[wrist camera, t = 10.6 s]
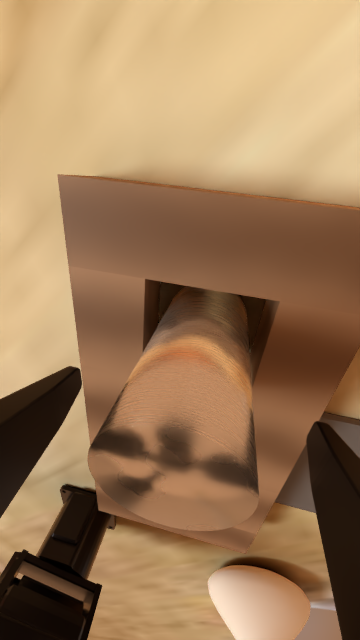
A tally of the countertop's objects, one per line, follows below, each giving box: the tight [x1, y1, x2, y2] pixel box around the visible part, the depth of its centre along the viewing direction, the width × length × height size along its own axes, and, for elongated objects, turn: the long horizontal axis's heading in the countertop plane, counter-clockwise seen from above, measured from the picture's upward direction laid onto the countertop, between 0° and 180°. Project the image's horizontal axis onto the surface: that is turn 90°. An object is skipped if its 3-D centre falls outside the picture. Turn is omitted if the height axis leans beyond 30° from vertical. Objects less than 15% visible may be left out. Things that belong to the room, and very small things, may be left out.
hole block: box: [58, 175, 360, 554], centre depth 18 cm, size 28×14×3 cm, turn 174°
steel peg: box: [88, 286, 259, 531], centre depth 11 cm, size 5×5×10 cm
